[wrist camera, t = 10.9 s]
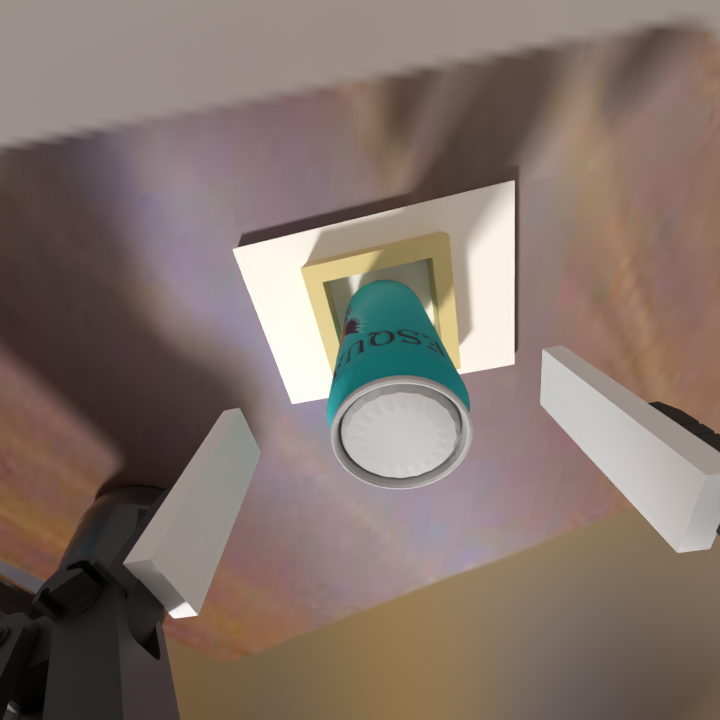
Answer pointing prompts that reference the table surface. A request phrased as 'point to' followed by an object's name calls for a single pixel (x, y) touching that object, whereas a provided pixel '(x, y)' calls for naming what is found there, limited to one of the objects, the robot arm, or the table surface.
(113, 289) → the table surface
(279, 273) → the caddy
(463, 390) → the beverage can
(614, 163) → the table surface
